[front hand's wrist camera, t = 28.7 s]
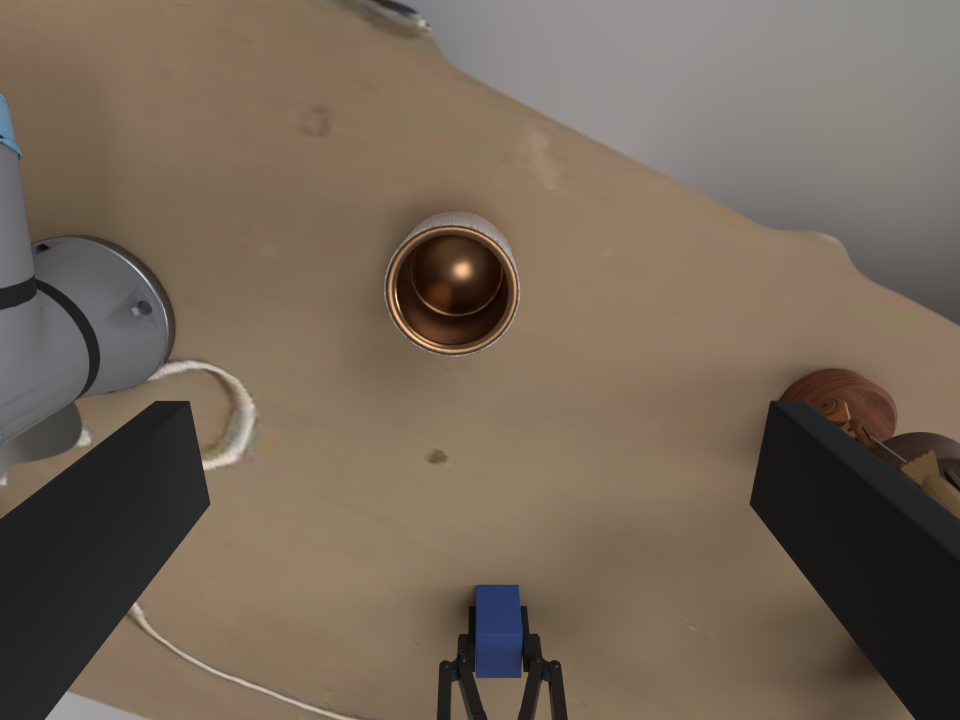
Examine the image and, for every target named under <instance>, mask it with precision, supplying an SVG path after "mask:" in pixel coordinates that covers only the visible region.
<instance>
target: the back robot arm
mask: <svg viewBox="0 0 960 720" xmlns="http://www.w3.org/2000/svg"><path fill="white" fill-rule="evenodd" d="M520 609H521V621H522V632H523V639H522V658H523V669H524V672H529V673H528V678H527V682H526V687H525V691H524V696H523V700H522V705H521V709H520V712H519V715H518V720H534V717H535V712H536V707H537V702H538V696H539V691H540V686H541V683H542V680H544V681H547V682H548V684H549V694H550V704H551V715H552V720H568V719H567V711H566V703H565V694H564V686H563V678H562V670H561V664H560V663H559V662H558V661H556V660H552V661H551V662H548V661H546V660H544V659H543V657H542V653H541V645H540V637H539V636H538V634H529V624H528V615H527V606H520ZM475 635H476V606H469V634H460V635H459V637H458V652H457V658H456V660H454V661H453V662H449V661H446V660H445V661H442V662H441V663H440V666H439V687H438V709H437V720H451V682H454V681H457V680H458V682H459V686H460V690H461V693H462V697H463V701H464V705H465V708H466V712H467V716H468V720H487V716H486V713H485V712H484V710H483V707H482V703H481V700H480V697H479V693H478V690H477V687H476V683H475V680H474V677H473V673H472V672H475Z"/></svg>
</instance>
